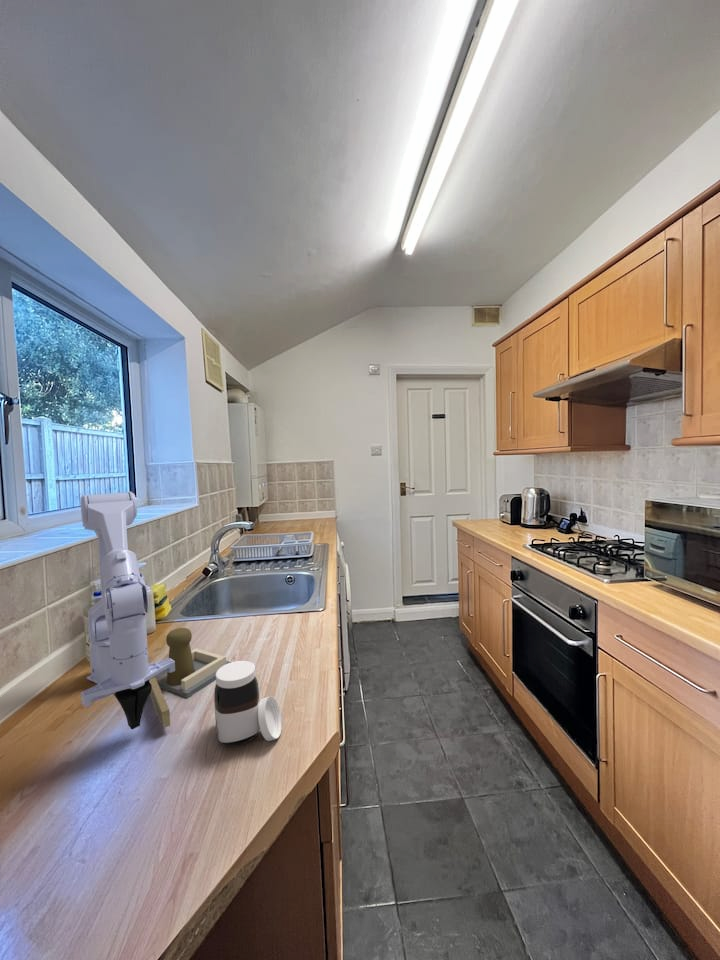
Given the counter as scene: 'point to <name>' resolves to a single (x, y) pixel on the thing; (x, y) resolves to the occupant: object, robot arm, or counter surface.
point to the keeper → (160, 703)
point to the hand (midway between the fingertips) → (134, 725)
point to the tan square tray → (196, 673)
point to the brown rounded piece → (180, 655)
